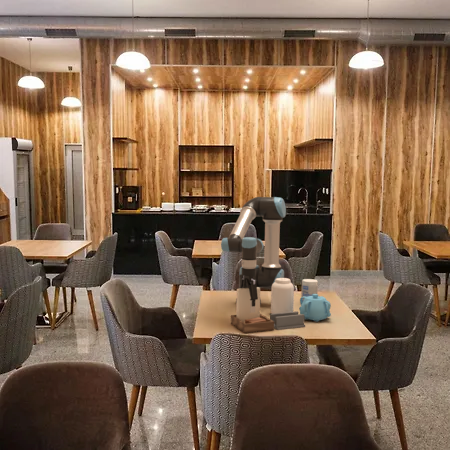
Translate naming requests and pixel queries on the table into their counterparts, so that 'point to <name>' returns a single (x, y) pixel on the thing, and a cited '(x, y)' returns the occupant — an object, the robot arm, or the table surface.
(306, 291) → the supplement tub
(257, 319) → the cherry offcut
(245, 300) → the tall board
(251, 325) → the brown wooden tray
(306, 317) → the decorative pot
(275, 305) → the white jar
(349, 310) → the table surface
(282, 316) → the slot holder
